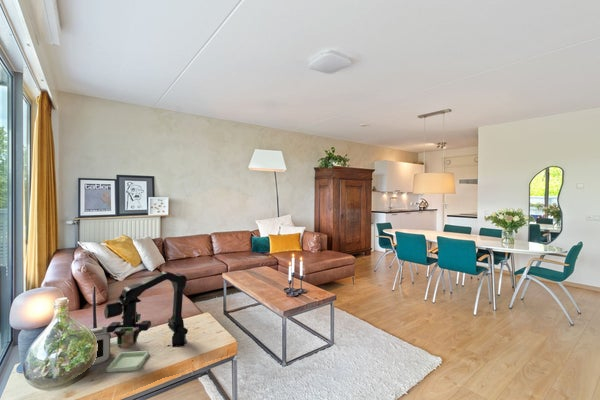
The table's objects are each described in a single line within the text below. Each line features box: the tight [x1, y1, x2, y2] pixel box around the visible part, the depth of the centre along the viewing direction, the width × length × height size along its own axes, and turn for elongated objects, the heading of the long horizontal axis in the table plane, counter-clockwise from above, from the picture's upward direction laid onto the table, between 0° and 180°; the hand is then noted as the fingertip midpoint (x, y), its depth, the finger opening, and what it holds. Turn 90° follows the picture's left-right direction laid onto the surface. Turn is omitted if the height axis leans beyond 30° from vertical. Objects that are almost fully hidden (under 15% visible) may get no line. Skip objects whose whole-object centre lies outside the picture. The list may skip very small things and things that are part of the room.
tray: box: [105, 350, 150, 373], centre depth 142 cm, size 14×14×2 cm
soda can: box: [116, 320, 134, 347], centre depth 160 cm, size 8×8×12 cm
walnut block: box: [121, 330, 138, 349], centre depth 142 cm, size 5×5×6 cm
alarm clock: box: [89, 326, 111, 366], centre depth 144 cm, size 16×11×16 cm
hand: (129, 343), depth 142 cm, fingers closed on walnut block, 5 cm apart
